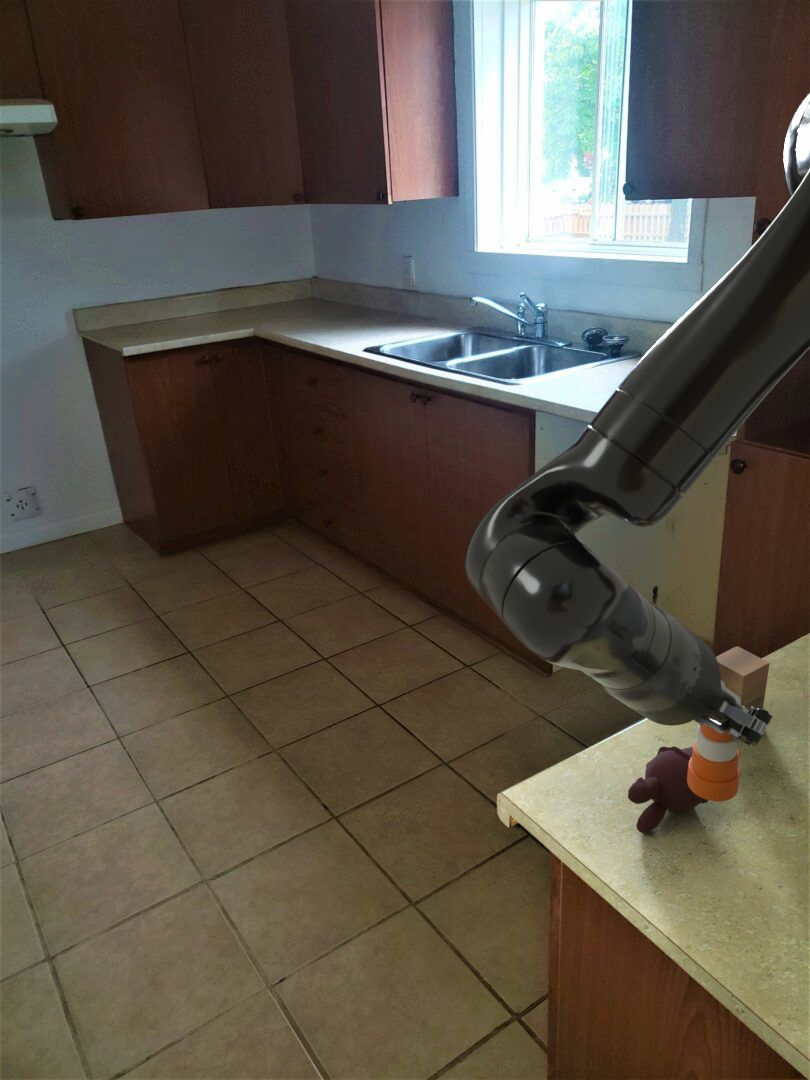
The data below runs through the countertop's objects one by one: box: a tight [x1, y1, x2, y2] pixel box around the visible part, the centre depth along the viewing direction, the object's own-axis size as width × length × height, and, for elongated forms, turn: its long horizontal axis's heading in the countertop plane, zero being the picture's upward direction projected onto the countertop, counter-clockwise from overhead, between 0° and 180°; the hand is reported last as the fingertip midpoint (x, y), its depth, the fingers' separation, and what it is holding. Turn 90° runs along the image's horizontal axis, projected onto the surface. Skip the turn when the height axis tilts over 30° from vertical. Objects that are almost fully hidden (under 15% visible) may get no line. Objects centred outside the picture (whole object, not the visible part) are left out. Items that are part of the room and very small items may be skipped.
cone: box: [687, 717, 741, 802], centre depth 73 cm, size 4×4×10 cm
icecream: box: [627, 745, 709, 834], centre depth 87 cm, size 7×7×15 cm
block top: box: [715, 645, 770, 706], centre depth 97 cm, size 4×4×4 cm
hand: (730, 722), depth 73 cm, fingers closed on cone, 3 cm apart
